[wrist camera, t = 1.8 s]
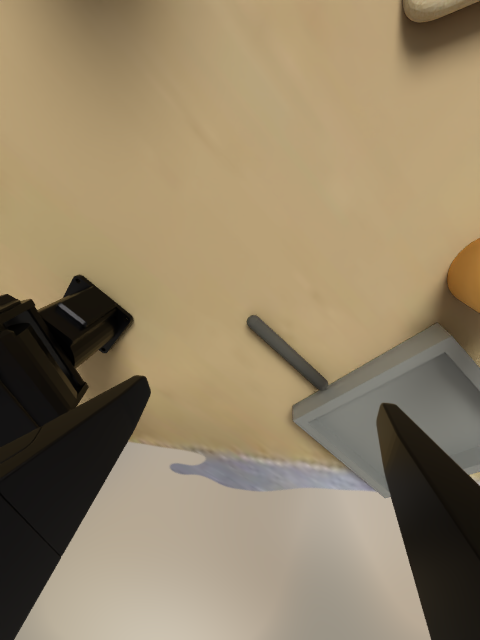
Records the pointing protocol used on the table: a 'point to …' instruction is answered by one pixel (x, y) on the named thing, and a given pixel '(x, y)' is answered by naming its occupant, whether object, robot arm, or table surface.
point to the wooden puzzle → (432, 8)
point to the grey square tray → (400, 404)
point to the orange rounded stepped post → (466, 276)
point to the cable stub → (287, 352)
